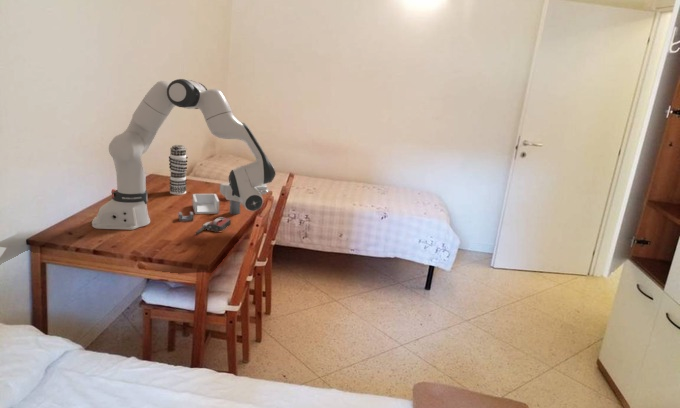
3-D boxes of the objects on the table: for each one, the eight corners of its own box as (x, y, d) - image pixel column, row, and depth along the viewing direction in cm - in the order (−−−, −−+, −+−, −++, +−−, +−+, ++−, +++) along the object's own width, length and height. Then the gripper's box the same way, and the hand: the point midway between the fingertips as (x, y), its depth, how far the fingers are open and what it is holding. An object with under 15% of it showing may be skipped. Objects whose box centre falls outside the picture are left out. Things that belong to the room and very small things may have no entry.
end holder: (194, 214, 222) (195, 201, 220) (192, 205, 233) (192, 193, 231) (219, 213, 226) (219, 201, 224) (215, 205, 237) (215, 193, 235)
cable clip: (179, 221, 210) (179, 214, 210) (178, 218, 214) (178, 211, 213) (193, 220, 213) (193, 214, 212) (192, 217, 216) (192, 211, 215)
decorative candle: (172, 189, 256) (172, 143, 249) (189, 191, 256) (190, 145, 249) (166, 193, 248) (165, 146, 240) (183, 195, 247) (183, 148, 240)
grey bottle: (230, 214, 226) (231, 186, 222) (228, 211, 230) (229, 183, 226) (240, 214, 228) (242, 186, 224) (239, 211, 232) (240, 183, 228)
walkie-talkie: (214, 221, 216) (193, 235, 197) (214, 212, 215) (193, 225, 196) (232, 224, 215) (213, 239, 196) (232, 215, 213) (213, 229, 194)
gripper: (271, 184, 204) (264, 176, 216) (222, 185, 196) (218, 177, 209) (270, 198, 206) (263, 190, 218) (222, 200, 198) (218, 191, 210)
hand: (241, 183), depth 213 cm, fingers open, 8 cm apart
